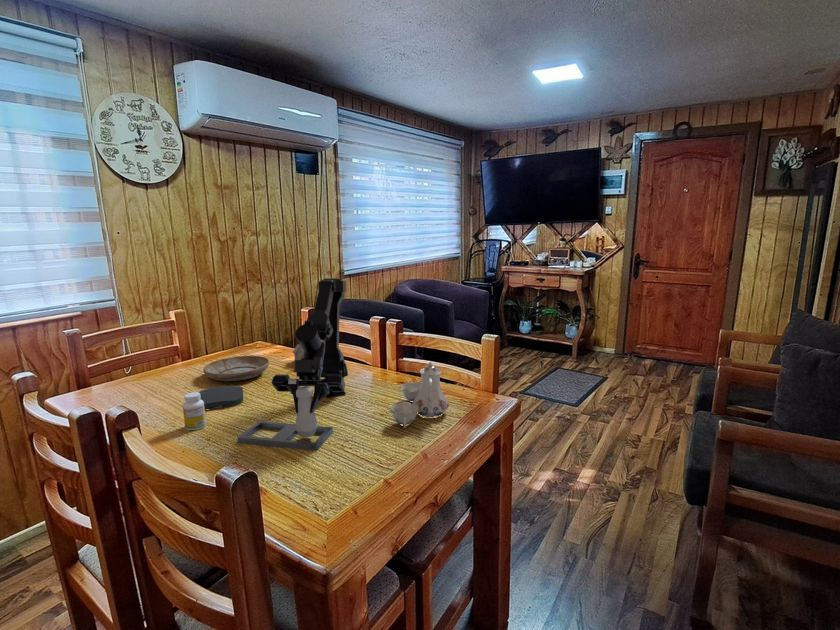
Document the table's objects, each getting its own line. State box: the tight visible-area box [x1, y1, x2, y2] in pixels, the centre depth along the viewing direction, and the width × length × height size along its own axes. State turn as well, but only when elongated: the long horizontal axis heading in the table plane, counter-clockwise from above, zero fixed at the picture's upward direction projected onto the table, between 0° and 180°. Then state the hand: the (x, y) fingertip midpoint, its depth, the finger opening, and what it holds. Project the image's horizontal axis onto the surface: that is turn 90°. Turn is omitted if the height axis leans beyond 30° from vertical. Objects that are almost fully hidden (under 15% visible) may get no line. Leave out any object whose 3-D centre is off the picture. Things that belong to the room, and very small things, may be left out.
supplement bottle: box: [182, 391, 207, 431], centre depth 127 cm, size 5×5×10 cm
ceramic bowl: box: [203, 355, 270, 382], centre depth 172 cm, size 23×24×5 cm
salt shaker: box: [295, 386, 319, 438], centre depth 118 cm, size 6×6×13 cm
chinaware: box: [389, 361, 450, 428], centre depth 135 cm, size 28×17×17 cm, turn 178°
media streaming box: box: [198, 385, 244, 410], centre depth 147 cm, size 15×15×3 cm
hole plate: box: [236, 420, 334, 451], centre depth 121 cm, size 22×10×2 cm, turn 78°
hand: (304, 413), depth 117 cm, fingers closed on salt shaker, 3 cm apart
